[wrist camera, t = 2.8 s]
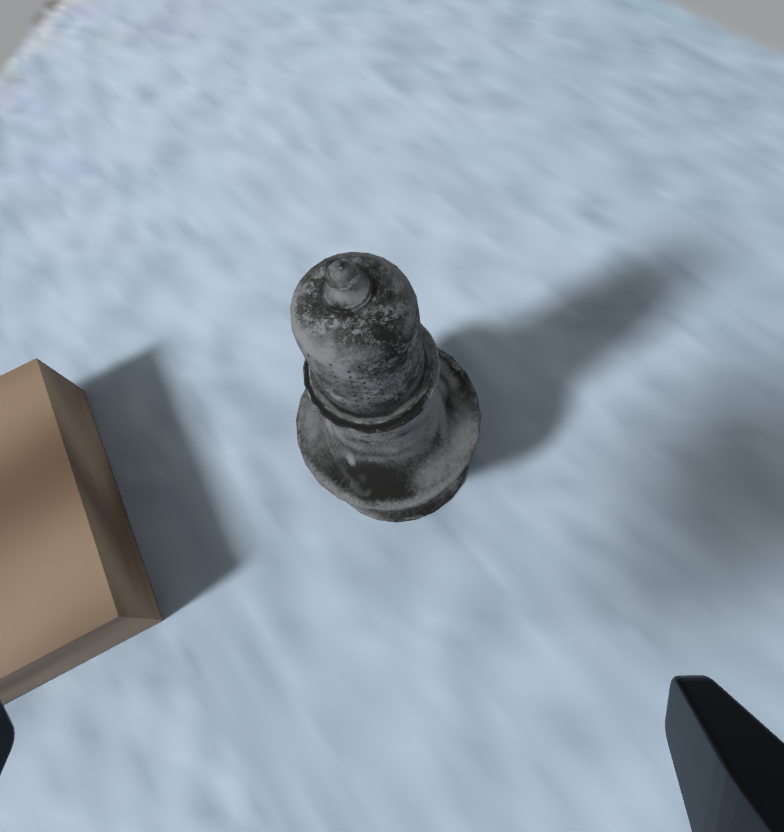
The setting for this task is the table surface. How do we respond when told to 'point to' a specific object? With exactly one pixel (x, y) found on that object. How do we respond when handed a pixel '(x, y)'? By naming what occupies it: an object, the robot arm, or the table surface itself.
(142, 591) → the walnut pedestal
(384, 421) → the grey chess bishop
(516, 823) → the table surface
